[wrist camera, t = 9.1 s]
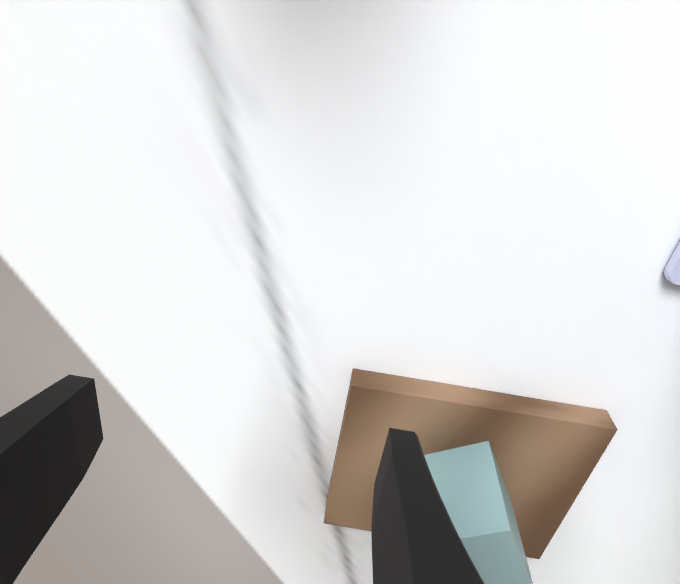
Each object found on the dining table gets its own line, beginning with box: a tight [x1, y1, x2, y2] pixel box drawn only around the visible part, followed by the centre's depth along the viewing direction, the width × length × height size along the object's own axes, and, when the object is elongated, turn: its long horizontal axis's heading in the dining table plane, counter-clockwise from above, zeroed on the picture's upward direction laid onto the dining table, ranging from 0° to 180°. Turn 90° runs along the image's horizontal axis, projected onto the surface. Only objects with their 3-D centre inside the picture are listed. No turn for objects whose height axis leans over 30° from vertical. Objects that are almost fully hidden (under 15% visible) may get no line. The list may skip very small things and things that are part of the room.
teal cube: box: [424, 441, 533, 584], centre depth 22 cm, size 4×4×4 cm
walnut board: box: [324, 369, 617, 559], centre depth 24 cm, size 12×10×1 cm
